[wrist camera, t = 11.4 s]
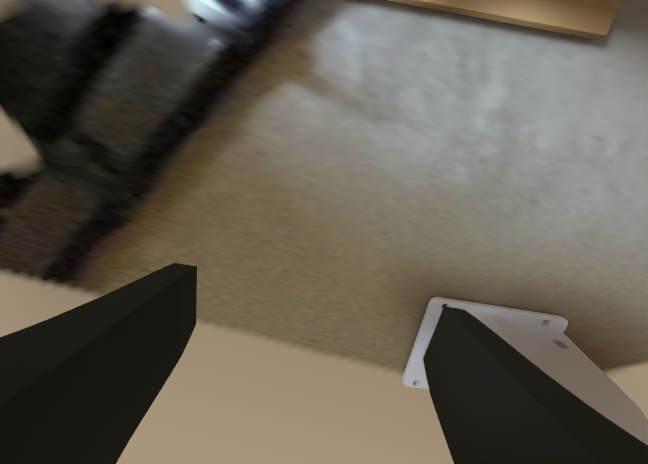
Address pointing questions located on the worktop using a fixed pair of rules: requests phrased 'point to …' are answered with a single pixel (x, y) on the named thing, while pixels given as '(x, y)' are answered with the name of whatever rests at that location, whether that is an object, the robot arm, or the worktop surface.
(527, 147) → the worktop surface
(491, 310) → the robot arm
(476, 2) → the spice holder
